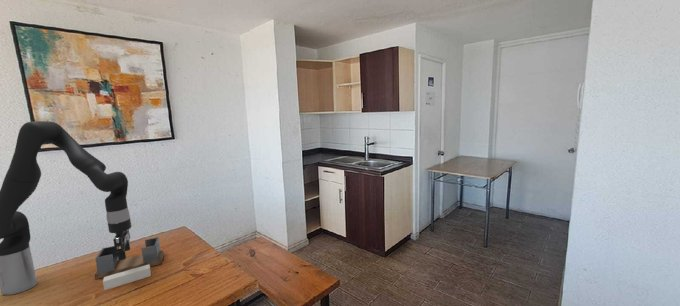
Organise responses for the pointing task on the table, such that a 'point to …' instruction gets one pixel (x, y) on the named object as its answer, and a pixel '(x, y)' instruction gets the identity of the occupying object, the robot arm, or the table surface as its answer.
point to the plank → (130, 265)
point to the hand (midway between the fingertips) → (124, 254)
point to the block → (126, 277)
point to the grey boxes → (110, 259)
